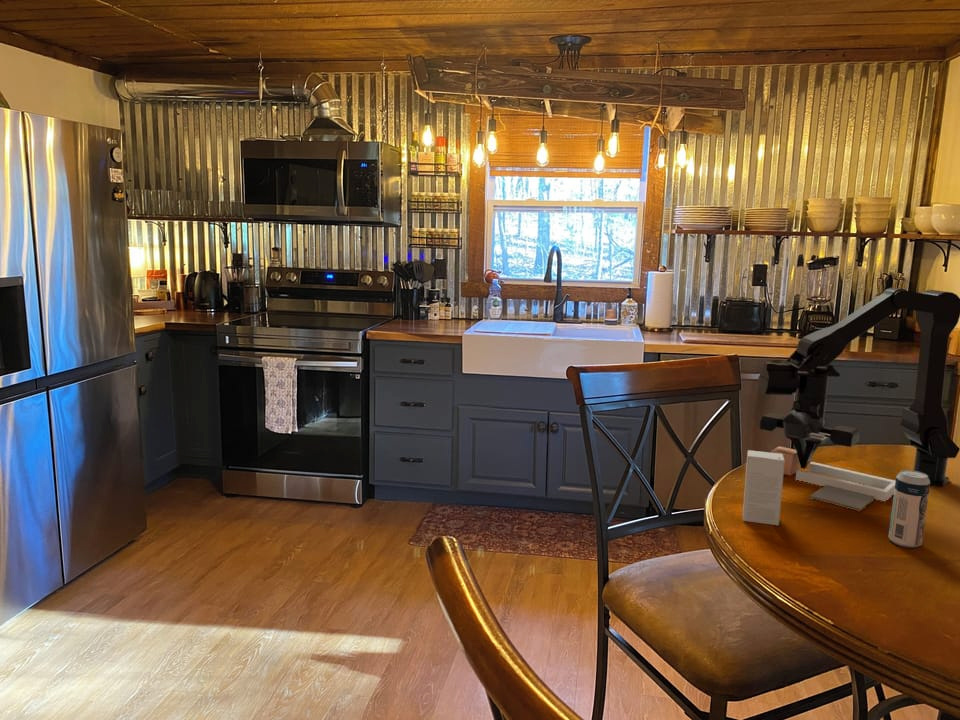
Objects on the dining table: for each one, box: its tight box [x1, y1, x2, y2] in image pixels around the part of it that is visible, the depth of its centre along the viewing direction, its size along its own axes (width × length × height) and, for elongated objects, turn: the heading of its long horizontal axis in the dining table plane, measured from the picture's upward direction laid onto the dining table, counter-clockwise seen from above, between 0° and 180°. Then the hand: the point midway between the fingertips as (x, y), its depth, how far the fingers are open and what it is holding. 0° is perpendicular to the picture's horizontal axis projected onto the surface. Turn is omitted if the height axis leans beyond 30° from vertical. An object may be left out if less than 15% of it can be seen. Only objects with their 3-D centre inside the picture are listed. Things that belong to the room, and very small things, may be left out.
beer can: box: [887, 469, 931, 549], centre depth 117 cm, size 5×5×12 cm
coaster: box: [809, 485, 875, 510], centre depth 138 cm, size 9×9×1 cm
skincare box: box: [742, 449, 785, 526], centre depth 126 cm, size 6×4×12 cm
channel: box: [795, 461, 896, 502], centre depth 145 cm, size 9×17×2 cm, turn 46°
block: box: [770, 446, 800, 476], centre depth 154 cm, size 4×4×4 cm
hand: (803, 468), depth 151 cm, fingers closed
